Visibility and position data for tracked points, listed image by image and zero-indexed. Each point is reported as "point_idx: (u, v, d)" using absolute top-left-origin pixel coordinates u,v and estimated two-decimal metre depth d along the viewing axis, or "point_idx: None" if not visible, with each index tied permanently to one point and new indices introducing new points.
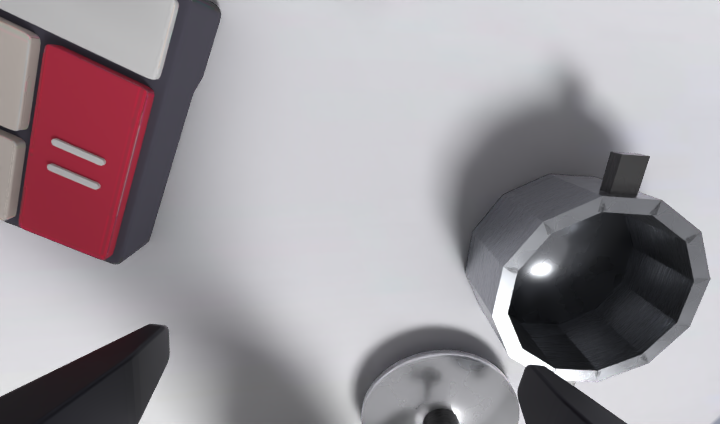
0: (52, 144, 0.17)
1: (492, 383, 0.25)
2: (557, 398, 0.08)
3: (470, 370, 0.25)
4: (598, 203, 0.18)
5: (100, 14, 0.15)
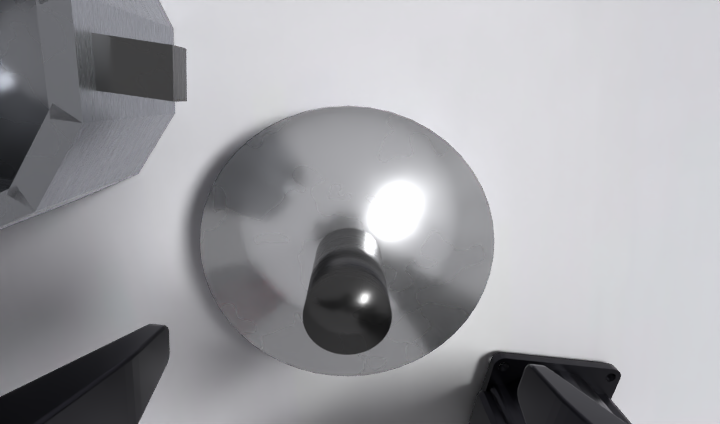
0: None
1: (258, 167, 0.13)
2: (557, 398, 0.08)
3: (227, 209, 0.13)
4: None
5: None
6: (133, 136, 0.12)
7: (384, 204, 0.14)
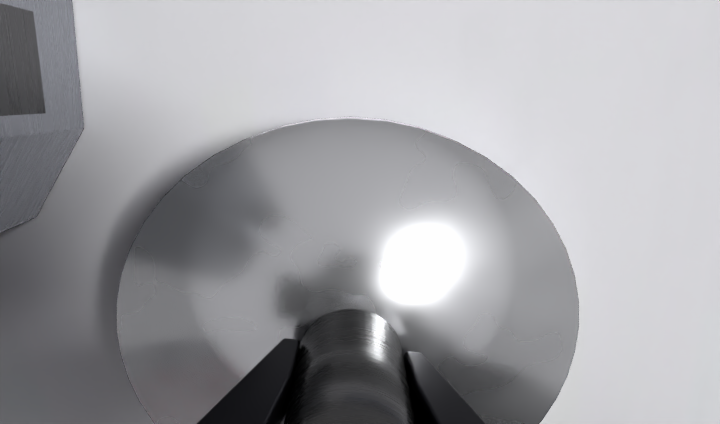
0: None
1: (202, 217, 0.08)
2: (416, 384, 0.08)
3: (156, 282, 0.08)
4: None
5: None
6: None
7: (408, 274, 0.08)
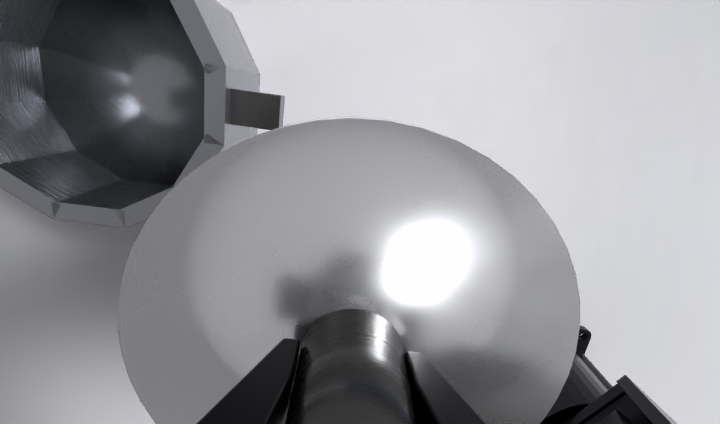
0: None
1: (204, 216, 0.08)
2: (416, 384, 0.08)
3: (157, 282, 0.08)
4: None
5: None
6: None
7: (409, 274, 0.08)
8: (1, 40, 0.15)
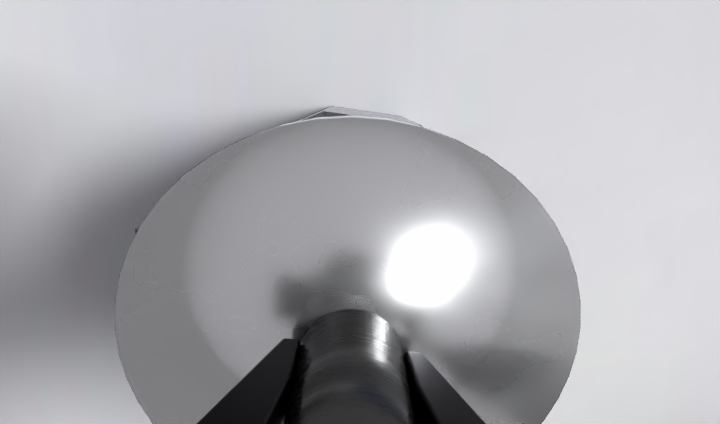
0: None
1: (202, 216, 0.08)
2: (416, 384, 0.08)
3: (155, 282, 0.08)
4: None
5: None
6: None
7: (408, 274, 0.08)
8: None
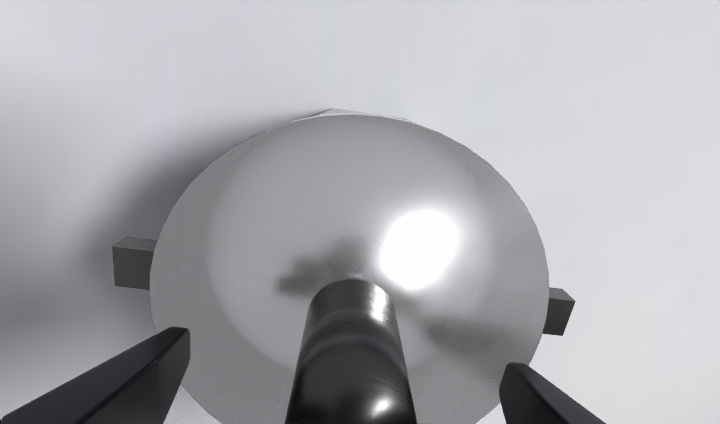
0: None
1: (226, 198, 0.09)
2: (535, 396, 0.08)
3: (185, 255, 0.10)
4: None
5: None
6: None
7: (401, 248, 0.10)
8: None
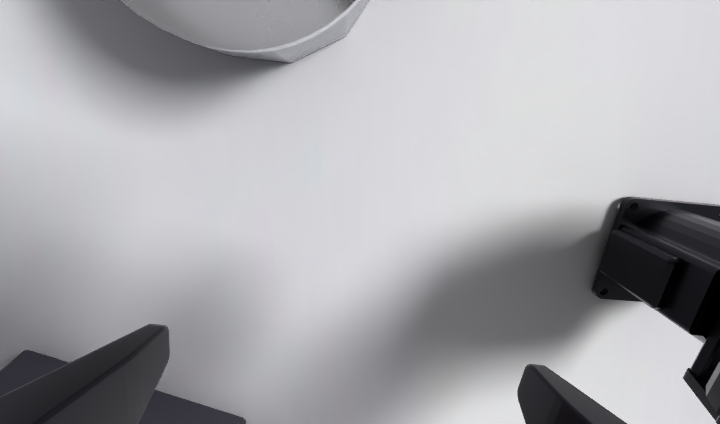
0: None
1: None
2: (557, 398, 0.08)
3: None
4: None
5: None
6: None
7: None
8: None
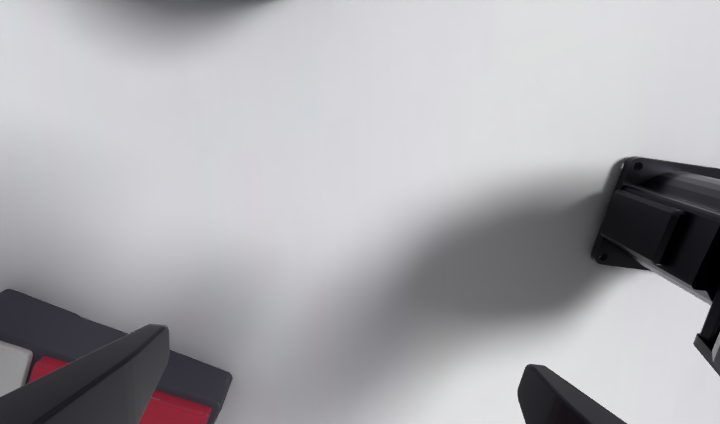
0: None
1: None
2: (557, 398, 0.08)
3: None
4: None
5: None
6: None
7: None
8: None
